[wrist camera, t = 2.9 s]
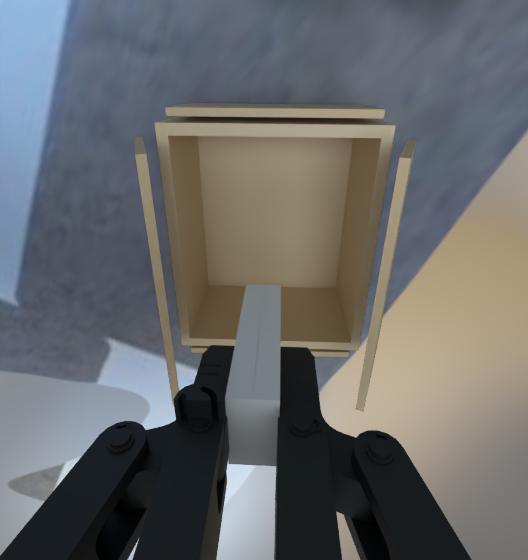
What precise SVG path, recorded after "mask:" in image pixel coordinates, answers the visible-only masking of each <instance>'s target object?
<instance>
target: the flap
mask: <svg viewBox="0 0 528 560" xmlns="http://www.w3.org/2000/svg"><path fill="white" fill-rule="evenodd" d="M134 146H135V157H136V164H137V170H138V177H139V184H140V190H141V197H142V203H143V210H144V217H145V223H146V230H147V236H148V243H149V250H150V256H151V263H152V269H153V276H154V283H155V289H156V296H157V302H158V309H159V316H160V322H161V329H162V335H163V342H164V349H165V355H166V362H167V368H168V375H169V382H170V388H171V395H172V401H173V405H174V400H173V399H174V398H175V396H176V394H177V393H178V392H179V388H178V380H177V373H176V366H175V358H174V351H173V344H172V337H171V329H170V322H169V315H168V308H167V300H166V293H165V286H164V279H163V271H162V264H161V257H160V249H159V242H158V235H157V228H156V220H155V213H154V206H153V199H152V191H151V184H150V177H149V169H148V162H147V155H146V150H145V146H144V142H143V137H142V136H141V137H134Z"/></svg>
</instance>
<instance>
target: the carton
mask: <svg viewBox="0 0 528 560" xmlns="http://www.w3.org/2000/svg"><path fill="white" fill-rule="evenodd" d="M165 109H166V116H175V117H172V118H169V119H165V120H162V121H158V122H155V130H156V138H157V146H158V154H159V162H160V171H161V179H162V187H163V195H164V203H165V211H166V220H167V228H168V236H169V244H170V252H171V260H172V268H173V277H174V285H175V293H176V301H177V309H178V317H179V325H180V334H181V342H182V345H192V348H191V350H192V353H204V352H205V351H206V350H207V349H208V348H209V347H210V346H211V345H225V346H235V342H236V336H237V331H238V326H239V320H240V315H241V310H242V304H243V299H244V294H245V288H246V284H261V285H281V347H307V348H308V349H309V350H310V352H311V353H312V354H313V356H325V357H349V350H359V346H360V340H361V334H362V328H363V322H364V316H365V310H366V304H367V297H368V291H369V285H370V279H371V273H372V267H373V261H374V255H375V248H376V242H377V236H378V230H379V224H380V218H381V212H382V206H383V199H384V193H385V187H386V181H387V175H388V169H389V163H390V157H391V151H392V144H393V138H394V132H395V126H396V125H393V124H390V123H387V122H384V121H381V120H378V119H375V118H384V114H385V109H381V108H376V107H372V106H367V105H343V104H242V103H185V104H180V105H175V106H169V107H165Z"/></svg>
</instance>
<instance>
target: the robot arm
mask: <svg viewBox="0 0 528 560" xmlns="http://www.w3.org/2000/svg"><path fill="white" fill-rule="evenodd" d="M316 377H317V376H316V370H315V359H314V356H313V354H312V353H311V352H310V350H309V349H308V348H307V347H281V285H261V284H246V288H245V294H244V299H243V304H242V310H241V315H240V320H239V326H238V331H237V336H236V342H235V346H225V345H211V346H210V347H209V348H208V349H207V350H206V351H205V352H204V353H203V355H202V359H201V362H200V366H199V368H198V372H197V375H196V378H195V382H194V384H191V385H189V386H186V387H184V388H183V389H181V390H180V391H179V392H178V393H177V394H176V396H175V398H174V399H173V400H174V407H175V414H176V420H175V421H174V422H172V423H170V424H168V425H165V426H162V427H158V428H154V429H149V430H145V429H144V427H143V426H142V425H141V424H139V423H137V422H132V421H124V422H120V423H116V424H114V425H113V426H111V427H108V428H107V429H106V430H105V431H104V432H102V433H101V434H100V435H99V437H98V438H97V439H96V440H95V441H94V443H93V444H92V445H91V446H90V447H89V449H88V450H87V451H86V452H85V453H84V455H83V456H82V457H81V458H80V460H79V461H78V462H77V463H76V464H75V466H74V467H73V468H72V469H71V470H70V472H69V473H68V474H67V475H66V477H65V478H64V479H63V480H62V481H61V483H60V484H59V485H58V486H57V488H56V489H55V490H54V491H53V492H52V494H51V495H50V496H49V497H48V498H47V500H46V501H45V502H44V503H43V505H42V506H41V507H40V508H39V510H38V511H37V512H36V513H35V514H34V516H33V517H32V518H31V519H30V521H29V522H28V523H27V524H26V525H25V526H24V528H23V529H22V530H21V531H20V533H19V534H18V535H17V536H16V538H15V539H14V540H13V541H12V543H11V544H10V545H9V546H8V547H7V548H6V550H5V551H4V552H3V553H2V554H1V556H0V560H127V559H128V557H129V556H130V554H131V552H132V550H133V548H134V546H135V545H136V543H137V541H138V539H139V541H138V544H137V547H136V551H135V554H134V557H133V560H216V556H217V549H218V542H219V535H220V528H221V521H222V513H223V506H224V499H225V492H226V485H227V476H226V469H227V462H228V461H229V464H244V465H265V466H266V465H267V466H276V495H275V500H276V502H275V505H276V506H275V551H274V552H275V553H274V560H342V555H341V548H340V540H339V531H338V523H337V515H336V512H339V513H342V514H344V517H345V520H346V522H347V525H348V528H349V530H350V533H351V535H352V538H353V541H354V544H355V546H356V549H357V552H358V554H359V557H360V559H361V560H471V559H470V556H469V555H468V553H467V552H466V550H465V548H464V547H463V545H462V543H461V542H460V540H459V539H458V537H457V535H456V533H455V532H454V530H453V529H452V527H451V525H450V524H449V522H448V521H447V519H446V517H445V515H444V514H443V512H442V511H441V509H440V507H439V506H438V504H437V502H436V501H435V499H434V497H433V496H432V494H431V492H430V491H429V489H428V488H427V486H426V484H425V483H424V481H423V479H422V478H421V476H420V474H419V473H418V471H417V469H416V468H415V466H414V465H413V463H412V461H411V460H410V458H409V456H408V455H407V453H406V452H405V450H404V448H403V447H402V446H401V444H400V443H399V442H398V441H397V440H396V439H395V438H393V437H392V436H390V435H389V434H387V433H384V432H381V431H366V432H363V433H361V434H359V436H358V437H357V438H355V437H352V436H349V435H346V434H343V433H341V432H338V431H336V430H335V429H333V428H332V427H330V426H329V425H328V424H327V423H326V422H325V420H324V418H323V417H322V414H321V410H320V402H319V393H318V385H317V378H316ZM139 537H140V538H139Z"/></svg>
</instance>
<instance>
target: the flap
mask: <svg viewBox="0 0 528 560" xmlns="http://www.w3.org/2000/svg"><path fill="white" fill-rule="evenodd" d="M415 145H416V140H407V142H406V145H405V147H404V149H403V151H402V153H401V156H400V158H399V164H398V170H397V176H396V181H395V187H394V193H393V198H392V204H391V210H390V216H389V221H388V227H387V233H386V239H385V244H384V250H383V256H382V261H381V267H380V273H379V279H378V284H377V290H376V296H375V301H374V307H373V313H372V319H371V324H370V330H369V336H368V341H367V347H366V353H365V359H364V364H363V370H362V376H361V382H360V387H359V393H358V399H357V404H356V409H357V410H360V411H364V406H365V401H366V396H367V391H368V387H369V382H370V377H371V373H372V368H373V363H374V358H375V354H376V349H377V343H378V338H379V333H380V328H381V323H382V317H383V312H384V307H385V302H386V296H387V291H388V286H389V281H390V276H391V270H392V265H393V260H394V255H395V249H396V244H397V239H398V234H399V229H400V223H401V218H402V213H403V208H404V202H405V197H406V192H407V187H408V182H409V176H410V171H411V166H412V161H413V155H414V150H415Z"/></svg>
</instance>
